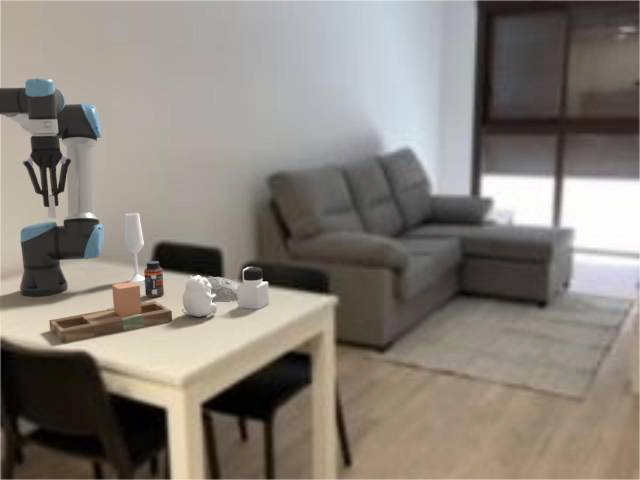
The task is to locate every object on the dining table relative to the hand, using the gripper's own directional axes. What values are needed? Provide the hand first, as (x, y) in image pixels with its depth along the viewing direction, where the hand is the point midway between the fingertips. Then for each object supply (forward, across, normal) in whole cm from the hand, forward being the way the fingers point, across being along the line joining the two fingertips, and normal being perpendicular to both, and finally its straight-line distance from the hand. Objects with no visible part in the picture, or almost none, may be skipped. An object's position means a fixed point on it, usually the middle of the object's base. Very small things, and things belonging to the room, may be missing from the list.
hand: (52, 217), depth 199 cm
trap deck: (+30, +10, -16) cm, 36 cm away
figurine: (+31, +34, -22) cm, 51 cm away
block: (+27, +15, -15) cm, 35 cm away
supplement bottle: (+31, +32, +8) cm, 45 cm away
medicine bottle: (+31, +52, -23) cm, 65 cm away
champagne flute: (+31, +35, +33) cm, 57 cm away
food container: (+31, +50, -4) cm, 59 cm away
